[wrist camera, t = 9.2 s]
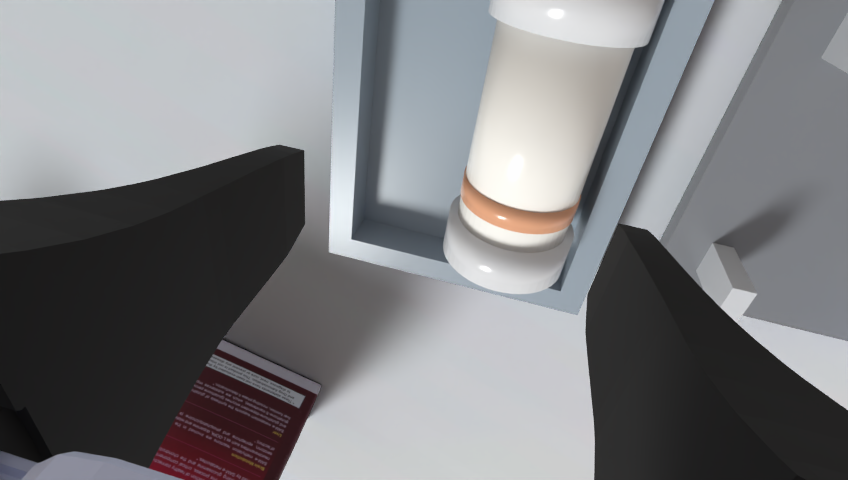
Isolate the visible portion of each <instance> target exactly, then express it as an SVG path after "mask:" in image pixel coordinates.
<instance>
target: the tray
mask: <svg viewBox="0 0 848 480" xmlns="http://www.w3.org/2000/svg"><path fill="white" fill-rule="evenodd" d="M713 3H714V0H665V1H664V4H663V6H662V9H661V12H660V14H659V17H658V19H657V22H656V25H655V27H654V30H653V33H652V35H651V38H650V40H649V43H648V44H647V45H645V46H642V47H637V48H635V49H634V51H633V54H632V57H631V60H630V62H629V65H628V68H627V70H626V73H625V76H624V79H623V81H622V84H621V87H620V89H619V92H618V95H617V98H616V100H615V103H614V106H613V108H612V111H611V114H610V117H609V119H608V122H607V125H606V127H605V130H604V133H603V136H602V138H601V141H600V144H599V146H598V149H597V152H596V155H595V157H594V160H593V163H592V165H591V168H590V171H589V174H588V176H587V179H586V182H585V184H584V187H583V190H582V193H581V200H580V202H579V205H578V208H577V210H576V213H575V216H574V219H573V221H572V223H571V225H572V227H573V230H574V239H573V242H572V245H571V247H570V250H569V252H568V255H567V258H566V260H565V263H564V266H563V268H562V271H561V273H560V276H559V278H558V280H557V281H556V282H555V283H554V284H553V285H552V286H550V287H549V288H547V289H545V290H542V291H539V292H536V293H530V294H509V293H502V292H497V291H493V290H490V289H487V288H484V287H482V286H479V285H477V284H475V283H473V282H471V281H469V280H468V279H466V278H465V277H463V276H462V275H461V274H459V273H458V272H457V271H456V270H455V269H454V268H453V267H452V266H451V265H450V263H449V262H448V260H447V259H446V257H445V254H444V250H443V242H444V237H445V232H446V227H447V221H448V216H449V211H450V207H451V204H452V202H453V200H454V199H455V198H456V197H457V196H459V195H460V194H461V186H462V181H463V176H464V171H465V168H466V166H467V164H468V159H469V154H470V149H471V144H472V139H473V134H474V130H475V125H476V120H477V115H478V110H479V105H480V100H481V95H482V91H483V86H484V81H485V76H486V71H487V66H488V61H489V56H490V52H491V47H492V42H493V37H494V32H495V27H496V22H497V19H496V18H494V17H493V16H491V15H490V13H489V11H488V10H489V4H490V0H335V31H334V69H333V107H332V145H331V183H330V221H329V252H330V253H334V254H338V255H342V256H346V257H350V258H354V259H357V260H361V261H365V262H369V263H373V264H377V265H381V266H385V267H389V268H393V269H397V270H401V271H405V272H409V273H413V274H417V275H421V276H425V277H429V278H433V279H437V280H441V281H444V282H448V283H452V284H456V285H460V286H464V287H468V288H472V289H476V290H480V291H484V292H488V293H492V294H496V295H500V296H504V297H508V298H512V299H516V300H520V301H524V302H528V303H531V304H535V305H539V306H543V307H547V308H551V309H555V310H559V311H563V312H567V313H571V314H575V315H578V313H579V310H580V308H581V306H582V303H583V301H584V299H585V297H586V294H587V292H588V290H589V287H590V285H591V283H592V281H593V278H594V276H595V274H596V271H597V269H598V267H599V264H600V262H601V260H602V258H603V255H604V253H605V251H606V248H607V246H608V244H609V241H610V239H611V237H612V235H613V232H614V230H615V228H616V225H617V223H618V221H619V219H620V216H621V214H622V212H623V209H624V207H625V205H626V202H627V200H628V198H629V196H630V193H631V191H632V189H633V186H634V184H635V182H636V179H637V177H638V175H639V173H640V170H641V168H642V166H643V163H644V161H645V159H646V157H647V154H648V152H649V150H650V147H651V145H652V143H653V140H654V138H655V136H656V134H657V131H658V129H659V127H660V124H661V122H662V120H663V117H664V115H665V113H666V111H667V108H668V106H669V104H670V101H671V99H672V97H673V95H674V92H675V90H676V88H677V85H678V83H679V81H680V78H681V76H682V74H683V72H684V69H685V67H686V65H687V62H688V60H689V58H690V55H691V53H692V51H693V49H694V46H695V44H696V42H697V39H698V37H699V35H700V33H701V30H702V28H703V26H704V23H705V21H706V19H707V16H708V14H709V12H710V10H711V7H712V5H713Z"/></svg>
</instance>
